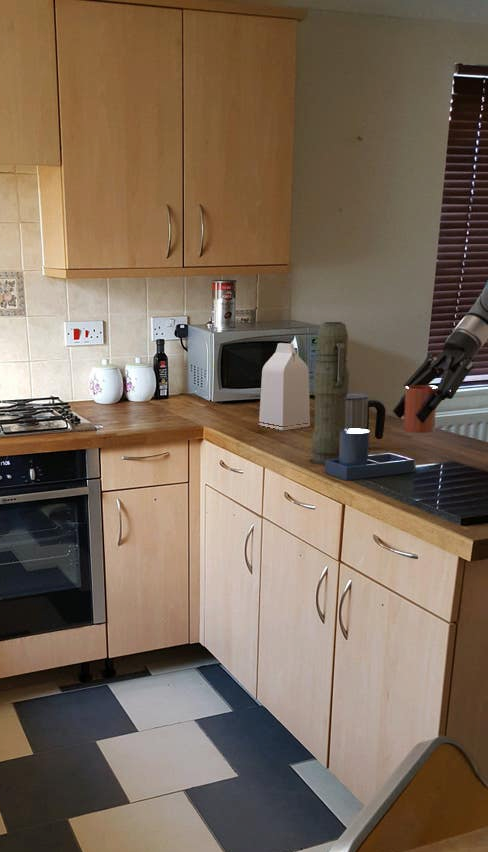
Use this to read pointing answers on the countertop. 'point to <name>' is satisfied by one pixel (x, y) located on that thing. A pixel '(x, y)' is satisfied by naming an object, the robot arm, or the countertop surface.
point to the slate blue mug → (353, 447)
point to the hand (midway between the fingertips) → (407, 416)
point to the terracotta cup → (417, 409)
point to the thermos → (330, 390)
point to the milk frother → (364, 413)
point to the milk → (285, 390)
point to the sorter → (371, 467)
